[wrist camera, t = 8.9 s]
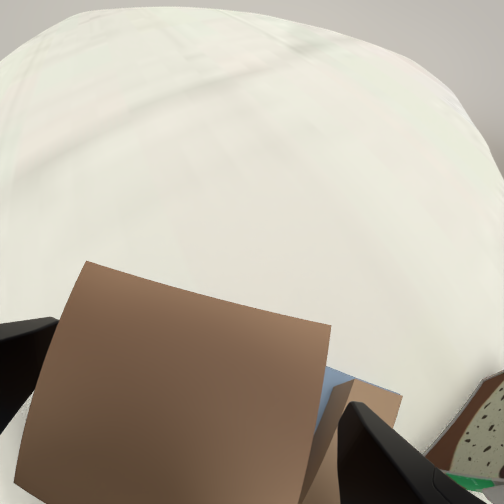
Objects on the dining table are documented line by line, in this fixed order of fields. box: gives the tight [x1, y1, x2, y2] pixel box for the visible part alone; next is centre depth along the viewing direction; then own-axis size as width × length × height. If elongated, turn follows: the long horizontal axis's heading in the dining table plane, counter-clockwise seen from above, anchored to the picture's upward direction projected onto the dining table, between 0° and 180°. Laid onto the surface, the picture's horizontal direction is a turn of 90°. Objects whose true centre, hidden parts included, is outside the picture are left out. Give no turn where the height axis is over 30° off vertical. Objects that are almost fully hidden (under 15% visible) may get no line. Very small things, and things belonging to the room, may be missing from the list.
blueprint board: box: [298, 366, 403, 504], centre depth 13 cm, size 14×17×4 cm
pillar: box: [14, 261, 331, 504], centre depth 9 cm, size 5×5×12 cm
